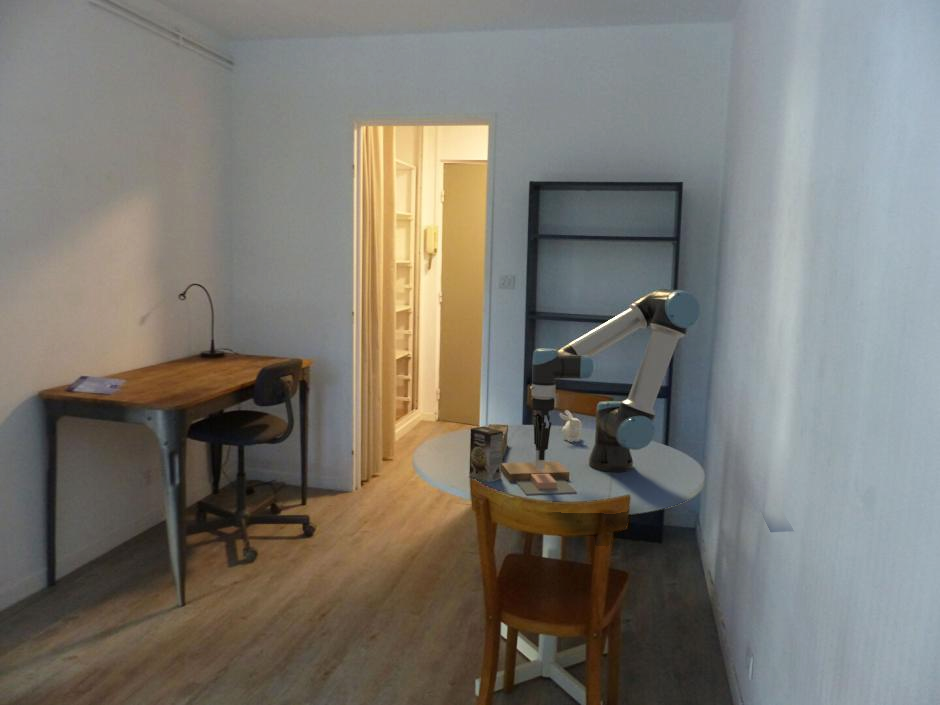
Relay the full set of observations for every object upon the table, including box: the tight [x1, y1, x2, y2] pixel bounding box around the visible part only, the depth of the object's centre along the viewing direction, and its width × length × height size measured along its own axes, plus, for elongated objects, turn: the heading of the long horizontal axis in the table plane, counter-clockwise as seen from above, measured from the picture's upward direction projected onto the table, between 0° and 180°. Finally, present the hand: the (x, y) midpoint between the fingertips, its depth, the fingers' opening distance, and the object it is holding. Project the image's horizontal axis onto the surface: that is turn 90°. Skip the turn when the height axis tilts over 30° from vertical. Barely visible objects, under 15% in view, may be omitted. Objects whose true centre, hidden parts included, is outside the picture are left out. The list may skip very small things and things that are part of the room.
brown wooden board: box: [501, 461, 570, 483], centre depth 231 cm, size 20×12×3 cm, turn 100°
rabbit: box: [559, 409, 583, 443], centre depth 281 cm, size 12×9×12 cm
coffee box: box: [468, 425, 503, 483], centre depth 226 cm, size 9×6×16 cm
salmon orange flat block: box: [531, 474, 557, 489], centre depth 221 cm, size 9×6×2 cm, turn 10°
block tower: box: [487, 423, 509, 460], centre depth 257 cm, size 8×8×29 cm
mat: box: [515, 479, 578, 496], centre depth 219 cm, size 16×13×1 cm
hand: (539, 468), depth 225 cm, fingers closed
